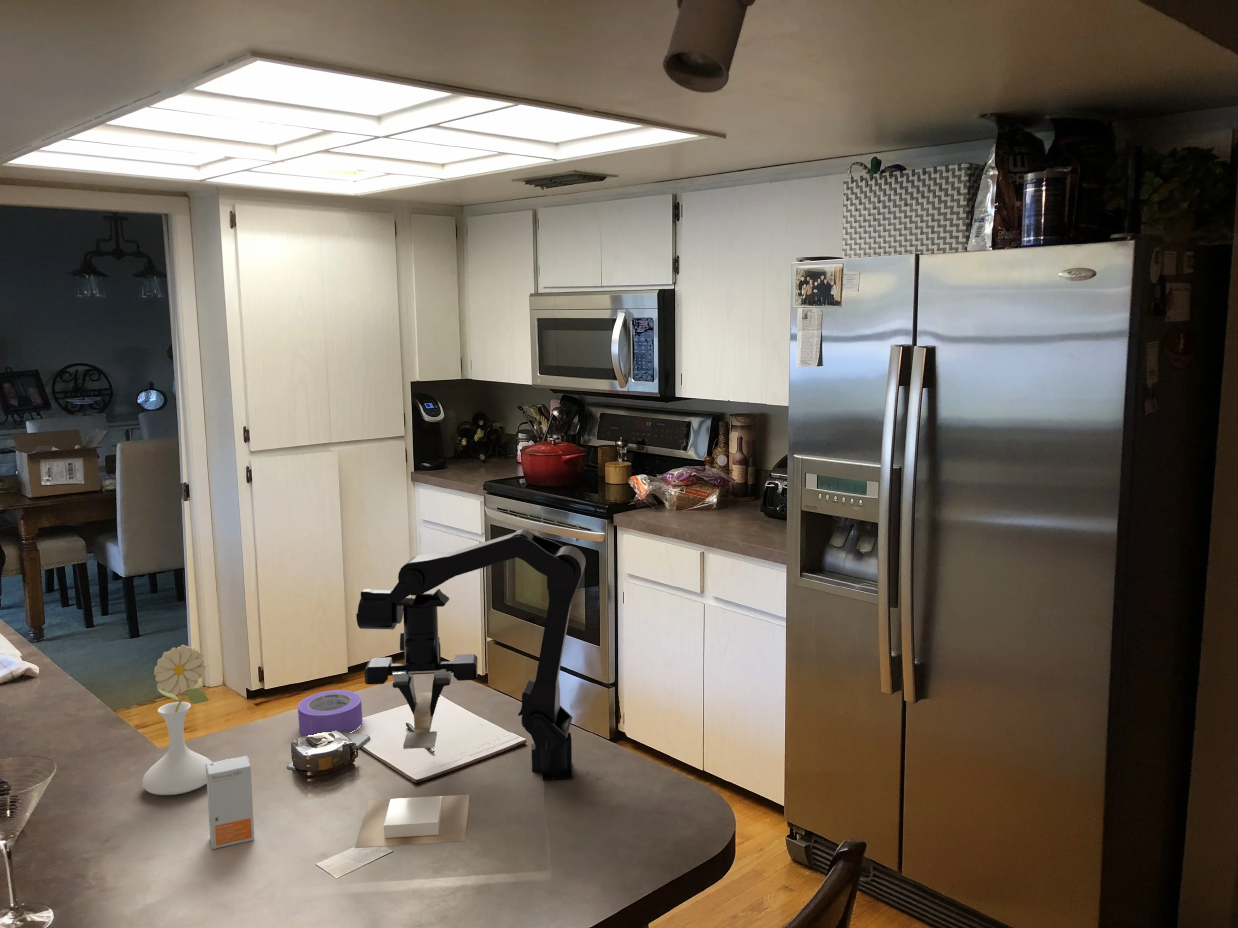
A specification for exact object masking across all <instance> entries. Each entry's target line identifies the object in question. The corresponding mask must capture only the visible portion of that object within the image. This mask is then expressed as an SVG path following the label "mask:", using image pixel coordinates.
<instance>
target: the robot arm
mask: <svg viewBox="0 0 1238 928" xmlns="http://www.w3.org/2000/svg"><path fill="white" fill-rule="evenodd" d="M517 558H518V559H519V560H522V561H523V562H524V563H526V564H527V565H528V566H530V567H531V568H533V569H534V570H535V571H536V572H538V573H540V574H542V575H544V576H545V577H546V590H547V600H548V604H547V605H548V606H547V612H546V617H545V618H546V619H545V624H544V630H543V635H542V640H541V647H540V651H539V652H540V653H539V658H538V664H537V670H536V676H535V681H532V680H529V679H528V680H527V682H526V684H525V686H524V688H523V691H522V693H521V706H520V709H519V711H518V714H517V716H518V717H520V716H521V719H520V722H521V725H522V727H523V728H524V730H525V731H526V732H527V733H529V734H530V736H531V738H532V739H531V740H532V741H533V743H531V745H530V746H531V748H530V750H531V772H532V773H536V774H542V775H541V777H542V780H543V781H547V780H548V781H549V780H550V781H551V780H565V779H566V780H567V779H573V778H574V769H573V746H572V745H573V744H572V743H573V742H572V741H573V740H572V734H571V732H570V728H571V724H572V722H573V716H572V714H571V713H569V712H568V711H567V710H566V709H564V707H562V706H561V688H560V679H559V676H560V671H561V665H562V660H563V659H562V658H563V654H564V653H563V652H564V649H565V644H566V643H565V642H566V636H567V631H568V627H569V626H568V625H569V619H570V613H571V609H572V608H571V607H572V603H573V599H574V597H575V595H576V592H577V589H578V587H579V584H580V581H581V579H582V576H583V573H584V570H585V567H586V563H587V561H586V557H585V555H584V554H583V552H582V551H581V550H580V549H579V548H578V547H575V546H572V545H565V546H564V545H563V544H560V542H559V543H558V542H556V541H554V540H551V539H549V538H545V537H542V536H539V535H536V534H535V533H533V532H531V531H529V530H528V529H524V528H523V529H518V530H516V531H515V532H513V533H510V534H507V535H502V536H499V537H497V538H494V539H490V540H487V541H484V542H481V543H477V544H474V545H471V546H470V545H469V546H467V547H464V548H461V549H457V550H455V551H454V550H453V551H447V552H446V551H445V552H444V551H434V552H427V553H419V554H417V555H414V556H413V557H412V558H411V559H409V560H408V561H407V562H406V563H405V564H404V565H402V566H401V568H400V570H399V571H398V574H397V575H398V576H397V580H398V581H397V583H396V585H395V586H393V588H392V589H374V588H364V589H363V590H361V592H360V599H359V602H358V605H357V612H356V614H355V615H356V616H355V617H356V623H357V626H358V627H357V628H359V629H360V630H389V631H391V630H395V629H396V627H397V624H401V623H402V621H403V632H400V635H399V651H400V652H404V663H393V659H392V657H371V658H370V659H369V661H367V665H366V666H365V669H364V684H365V685H384V684H385V683H386V682H387V681H388V680H389V677H390V676H392V679H393V682H392V688H394V689H398V690H399V692H400V693H401V694H402V695H403V697H404V699H405V700H406V703H407V705H408V706H409V709H410V710H411V712H412V715H413V716H414V711H415V707H416V703H417V695H416V690H415V683H414V682H415V680H414V679H415V678H414V677H415V676H414V675H428V674H429V675H430V674H431V675H433V680H432V686H431V688H432V689H431V692H432V696H431V707H430V712H431V717H433V718H434V715H435V712H436V708H437V704H438V701H439V698H440V696H441V694H442V693H443V692H442V691H443V689H444V687H445V686H446V687H448V686H450V685H451V683H452V677H453V678H454V679H456V680H457V681H458V682H459V681H460V682H461V681H474V680H477V679H478V673H479V672H478V671H479V663H478V662H479V659H478V655H476V654H475V653H469V654H468V653H467V654H466V653H464V654H463V653H462V654H454V657H453V658H454V659H453V660H452V661H440V660H441V657H442V656H441V655H442V653H441V651H442V649H441V642H440V636H439V618H438V617H439V616H438V608H440V607H445V606H446V605H447V604H448V602H449V601H450V597H449V596H447V595H446V593H445V594H444V593H443V591H441V589H440V588H438V589H436V590H435V592H434V593H427V592H429V591H431V590H433V589H435V588H437V587H439V586H441V585H442V584H444V583H446V582H447V581H449V580H450V579H451V580H452V579H453V578H455V577H457V576H460V575H464V574H467V573H470V572H474V571H476V570H479V569H484V568H487V567H490V566H492V565H493V566H494V565H496V564H499V563H502V562H504V563H505V562H507V561H510V560H513V559H517ZM409 596H414V597H409Z"/></svg>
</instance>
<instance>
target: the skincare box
mask: <svg viewBox="0 0 1238 928" xmlns="http://www.w3.org/2000/svg"><path fill="white" fill-rule="evenodd" d="M250 763H251V762H250V760H249V756H248V755H243V756H238V757H231V758H226V759H222V760H219V761H214V762H213V761H212V763H207V764H206V778H207V783H206V789H207V790H206V792H207V793H206V794H207V809H208V810H207V811H208V823H209V824H208V825H209V837H210V843H211V849H212V850H216V849H219V848H223V847H228V846H232V845H237V844H242V843H247V842H252V841H254V840H255V829H254V827H255V826H254V811H253V810H254V808H253V790H252V789H253V787H252V785H253V784H252V767H251V764H250Z"/></svg>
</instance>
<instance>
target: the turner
mask: <svg viewBox="0 0 1238 928" xmlns="http://www.w3.org/2000/svg"><path fill="white" fill-rule="evenodd" d="M431 696H432V691H431V692H419V693H418V696H417V698H416V701H417V703H416V707H415V711H414V715H413V721H414V724H413V725H414V732H413V731H411V732H406V733H405V737H404V741H403V746H402V747H403V750H409V749H427V748H428V749H433V748H435V747H436V741H437V736H438V731H436V730H434V731H433V730H432V731H431V728H432V724H433V723H432V722H433V719H434V716H433V717H431V712H430V707H431Z"/></svg>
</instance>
